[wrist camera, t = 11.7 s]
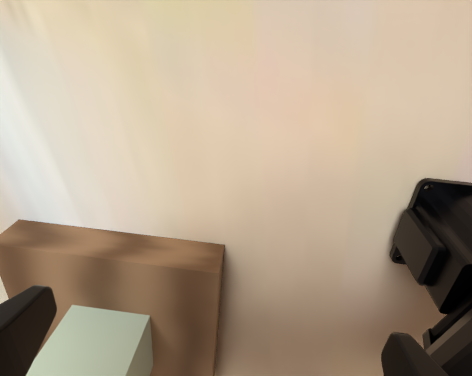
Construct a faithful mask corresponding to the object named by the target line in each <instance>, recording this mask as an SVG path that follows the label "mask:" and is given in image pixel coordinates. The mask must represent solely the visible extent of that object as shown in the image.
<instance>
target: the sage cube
mask: <svg viewBox="0 0 472 376" xmlns="http://www.w3.org/2000/svg"><path fill="white" fill-rule="evenodd" d="M152 367H153V351H152V338H151V324H150V315H143V314H135V313H128V312H121V311H113V310H106V309H99V308H92V307H84V306H77V305H72V306H71V307H70V309H69V310H68V312H67V313H66V314H65V316H64V317H63V319H62V320H61V322H60V323H59V325H58V326H57V327H56V329H55V330H54V332H53V333H52V335H51V336H50V337H49V339H48V340H47V342H46V343H45V345H44V346H43V348H42V349H41V350H40V352H39V353H38V355H37V356H36V358H35V359H34V361H33V363H32V365H31V367H30V369H29V371H28V373H27V374H26V376H150V373H151V370H152Z"/></svg>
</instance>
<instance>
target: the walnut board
mask: <svg viewBox="0 0 472 376" xmlns="http://www.w3.org/2000/svg"><path fill="white" fill-rule="evenodd" d="M223 258H224V245H220V244H212V243H204V242H196V241H188V240H180V239H172V238H164V237H156V236H147V235H139V234H131V233H123V232H115V231H107V230H99V229H91V228H83V227H75V226H67V225H58V224H50V223H42V222H34V221H26V220H18V221H17V222H15V223H14V224H13V225H12V226H10V227H9V228H8V229H7V230H5V231H4V232H3V233H2V234H0V276H1V279H2V282H3V284H4V287H5V290H6V292H7V295H8V298H9V299H10V298H12V297H14V296H15V295H17V294H19V293H21V292H22V291H24V290H26V289H27V288H29V287H31V286H33V285H43V286H49V287H51V288H52V290H53V294H54V298H55V301H56V305H57V313H56V316H55V318H54V320H53V322H52V324H51V326H50V328H49V330H48V332H47V335H46V337H45V339H44V341H43V343H42V345H41V347H40V349H39V351H38V353H39V352H40V350H41V349H42V348H43V346H44V345H45V343H46V342H47V340H48V339H49V337H50V336H51V335H52V333H53V332H54V330H55V329H56V327H57V326H58V325H59V323H60V322H61V320H62V319H63V317H64V316H65V314H66V313H67V312H68V310H69V309H70V307H71V306H72V305H77V306H84V307H92V308H99V309H106V310H113V311H121V312H128V313H135V314H143V315H150V324H151V338H152V351H153V367H152V370H151V373H150V376H214V374H215V363H216V350H217V337H218V323H219V310H220V297H221V284H222V271H223ZM38 353H37V355H38ZM37 355H36V356H37ZM35 358H36V357H35Z"/></svg>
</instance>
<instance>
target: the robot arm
mask: <svg viewBox="0 0 472 376" xmlns="http://www.w3.org/2000/svg"><path fill="white" fill-rule="evenodd" d="M427 185H430V187H429V188H427V189H424V188H425V186H427ZM394 242H395V243H394V245H393V248H392V250H391V253H390V257H391V259H392V261H393V262H395V263H399V264H407V266H408V267H409V269H410V271H411V273H412V275H413V276H414V278H415V280H416V281H417V283H418V284H419V285H423V286H425V287H426V289H427V291H428V292H429V294H430V296H431V298H432V299H433V301H434V303H435V304H436V306H437V308H438V310H439V311H440V313H443V314H447V315H446V316H445V317H444V318H443V319H442V320H441V321H440V322H439V323H438V324H437V325H435V326H434V327H433V328H432V329H428V330H427V331H426V332H425V333H424V334H423V343H424V349H423V348H422V347H421V346H420V345H419V344H418V343H417V342H416V341H415V340H414V339H413V338H412V337H411V336H410V335H408V334H404V333H397V332H393V333H391V334H390V336H389V338H388V340H387V342H386V344H385V346H384V348H383V351H382V354H381V361H382V367H383V373H384V376H472V183H468V182H459V181H450V180H440V179H431V178H425V179H423V180H421V181H420V182H419V183H418V185H417V187H416V190H415V192H414V195H413V197H412V200H411V202H410V205H409V207H408V208H407V209H406V210H405V212H404V214H403V217H402V219H401V222H400V224H399V227H398V229H397V232H396V234H395V237H394ZM398 255H400V256H399V257H396V256H398ZM56 313H57V305H56V301H55V298H54V294H53V290H52V288H51V287H49V286H43V285H33V286H31V287H29V288H27V289H26V290H24V291H22V292H21V293H19V294H17V295H15V296H14V297H12V298H10V299H8V300H7V301H5V302H3V303H1V304H0V376H26V374H27V373H28V371H29V369H30V367H31V365H32V363H33V361H34V359H35V357H36V355H37V353H38V351H39V349H40V347H41V345H42V343H43V341H44V339H45V337H46V335H47V332H48V330H49V328H50V326H51V324H52V322H53V320H54V318H55V316H56Z"/></svg>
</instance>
